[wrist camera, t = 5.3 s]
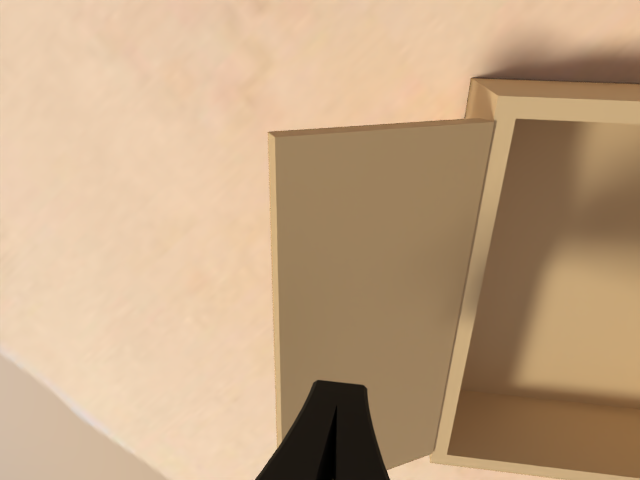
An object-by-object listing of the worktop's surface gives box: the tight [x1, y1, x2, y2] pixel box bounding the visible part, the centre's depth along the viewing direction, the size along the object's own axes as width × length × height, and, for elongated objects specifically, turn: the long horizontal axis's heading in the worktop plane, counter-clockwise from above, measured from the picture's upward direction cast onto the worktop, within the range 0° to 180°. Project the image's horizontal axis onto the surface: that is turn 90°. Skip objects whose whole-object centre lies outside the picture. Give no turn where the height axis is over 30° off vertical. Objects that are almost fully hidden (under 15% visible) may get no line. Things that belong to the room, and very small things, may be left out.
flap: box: [268, 118, 494, 470], centre depth 15 cm, size 6×14×1 cm, turn 179°
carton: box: [430, 78, 640, 480], centre depth 17 cm, size 15×13×4 cm
